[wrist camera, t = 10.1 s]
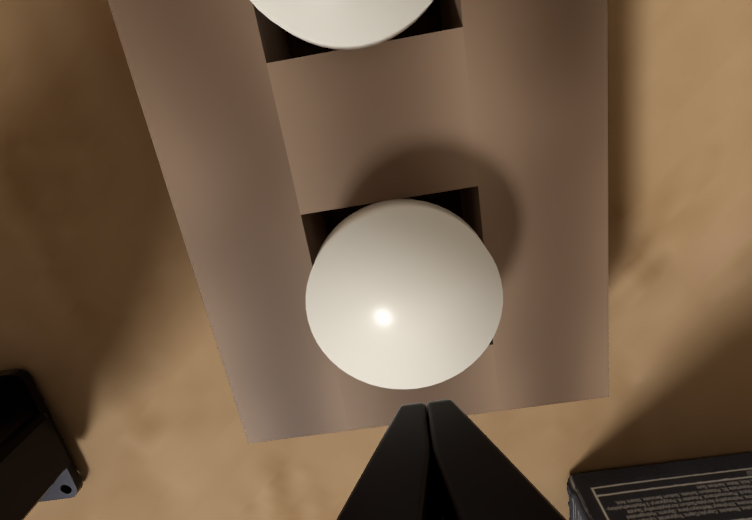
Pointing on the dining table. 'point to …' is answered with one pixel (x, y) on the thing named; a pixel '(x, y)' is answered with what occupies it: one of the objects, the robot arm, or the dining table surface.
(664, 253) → the dining table surface
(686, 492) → the small box
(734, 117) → the dining table surface
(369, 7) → the knob middle
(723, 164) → the dining table surface
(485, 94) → the mount
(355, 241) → the knob
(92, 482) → the dining table surface
